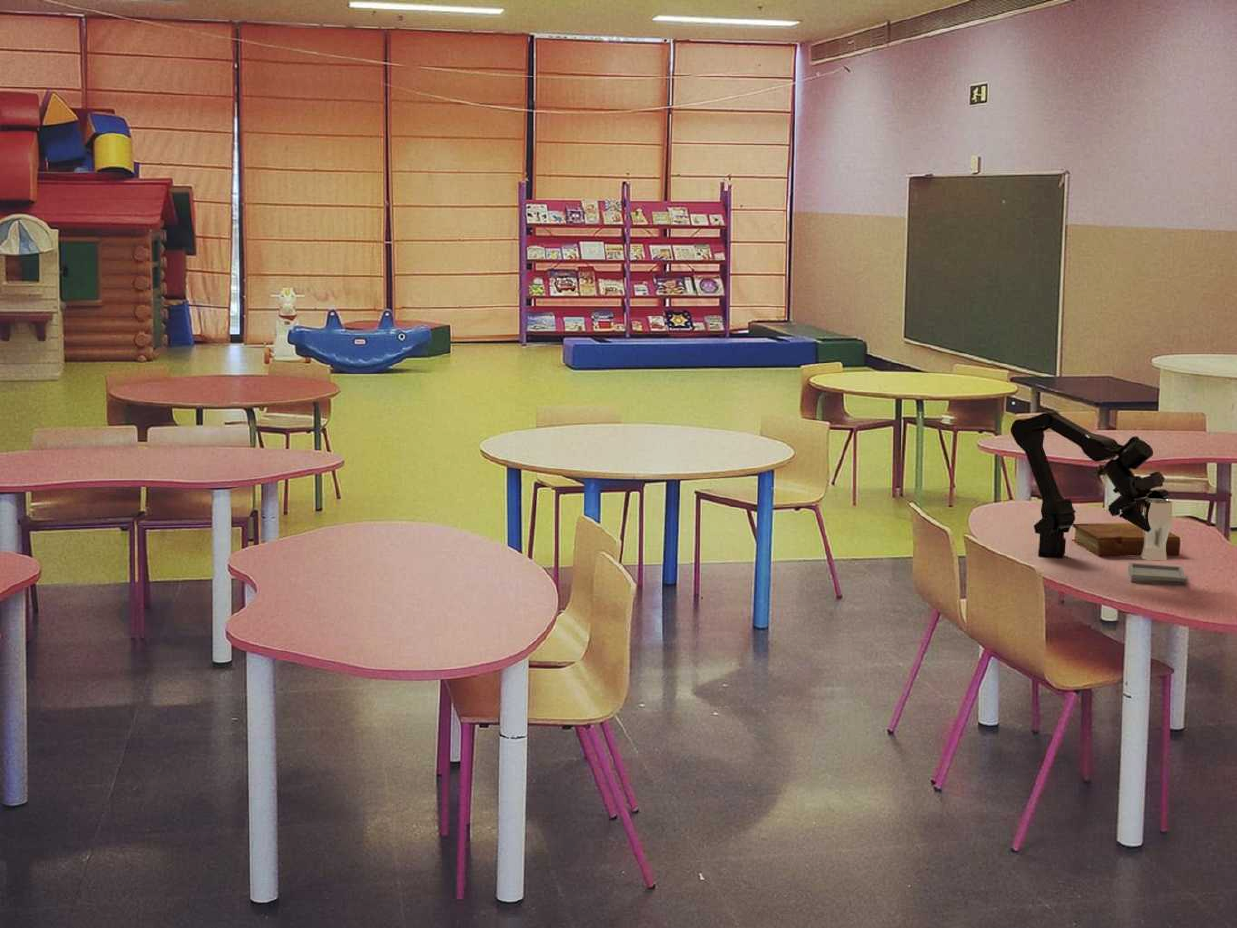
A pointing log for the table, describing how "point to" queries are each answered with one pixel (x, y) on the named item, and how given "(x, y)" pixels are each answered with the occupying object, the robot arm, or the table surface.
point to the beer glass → (1156, 528)
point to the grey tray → (1157, 574)
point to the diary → (1117, 539)
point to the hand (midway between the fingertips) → (1157, 529)
